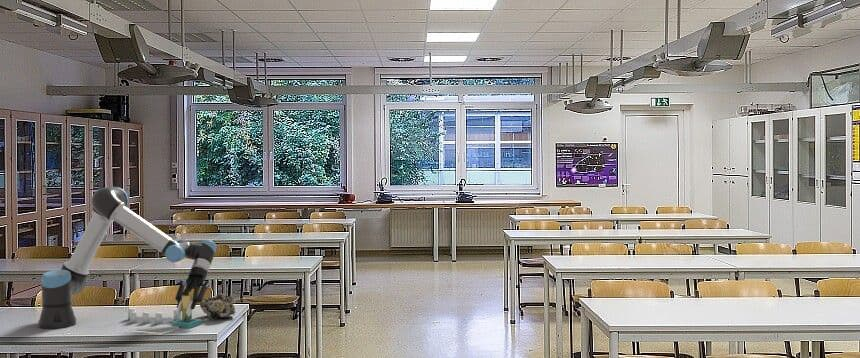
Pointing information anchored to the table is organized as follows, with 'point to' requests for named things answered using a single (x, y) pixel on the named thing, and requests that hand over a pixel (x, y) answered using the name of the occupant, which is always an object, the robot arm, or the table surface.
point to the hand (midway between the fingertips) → (182, 314)
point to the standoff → (185, 306)
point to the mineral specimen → (218, 306)
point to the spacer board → (152, 321)
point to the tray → (187, 325)
